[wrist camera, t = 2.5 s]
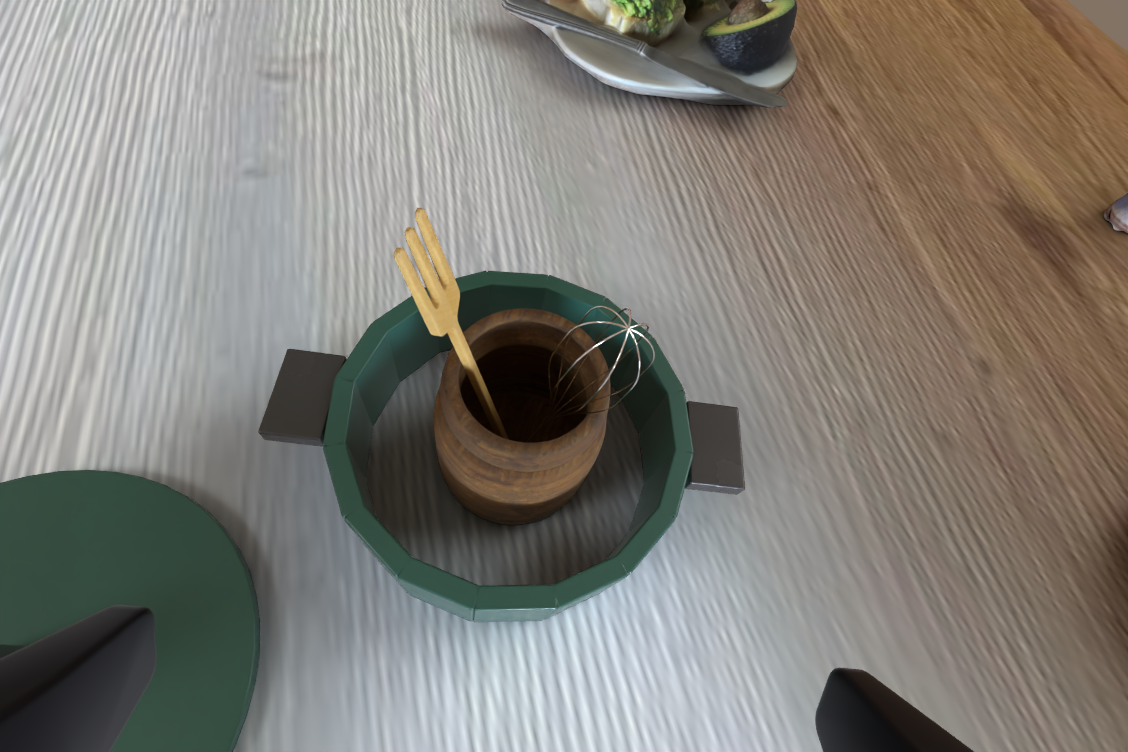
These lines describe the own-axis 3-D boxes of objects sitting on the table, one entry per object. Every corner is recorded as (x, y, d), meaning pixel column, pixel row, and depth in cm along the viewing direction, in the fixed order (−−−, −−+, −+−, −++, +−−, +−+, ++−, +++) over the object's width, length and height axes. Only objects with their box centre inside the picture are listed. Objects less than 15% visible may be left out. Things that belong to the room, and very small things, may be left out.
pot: (528, 736, 18) (542, 751, 15) (259, 433, 22) (218, 387, 18) (738, 475, 24) (784, 440, 20) (497, 265, 27) (502, 204, 24)
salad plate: (504, 113, 32) (509, 33, 28) (497, -53, 41) (500, -134, 36) (810, 136, 36) (854, 68, 32) (746, -22, 44) (775, -92, 40)
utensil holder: (567, 548, 21) (661, 427, 11) (408, 503, 21) (348, 338, 11) (599, 413, 24) (697, 214, 14) (459, 372, 24) (450, 142, 14)
